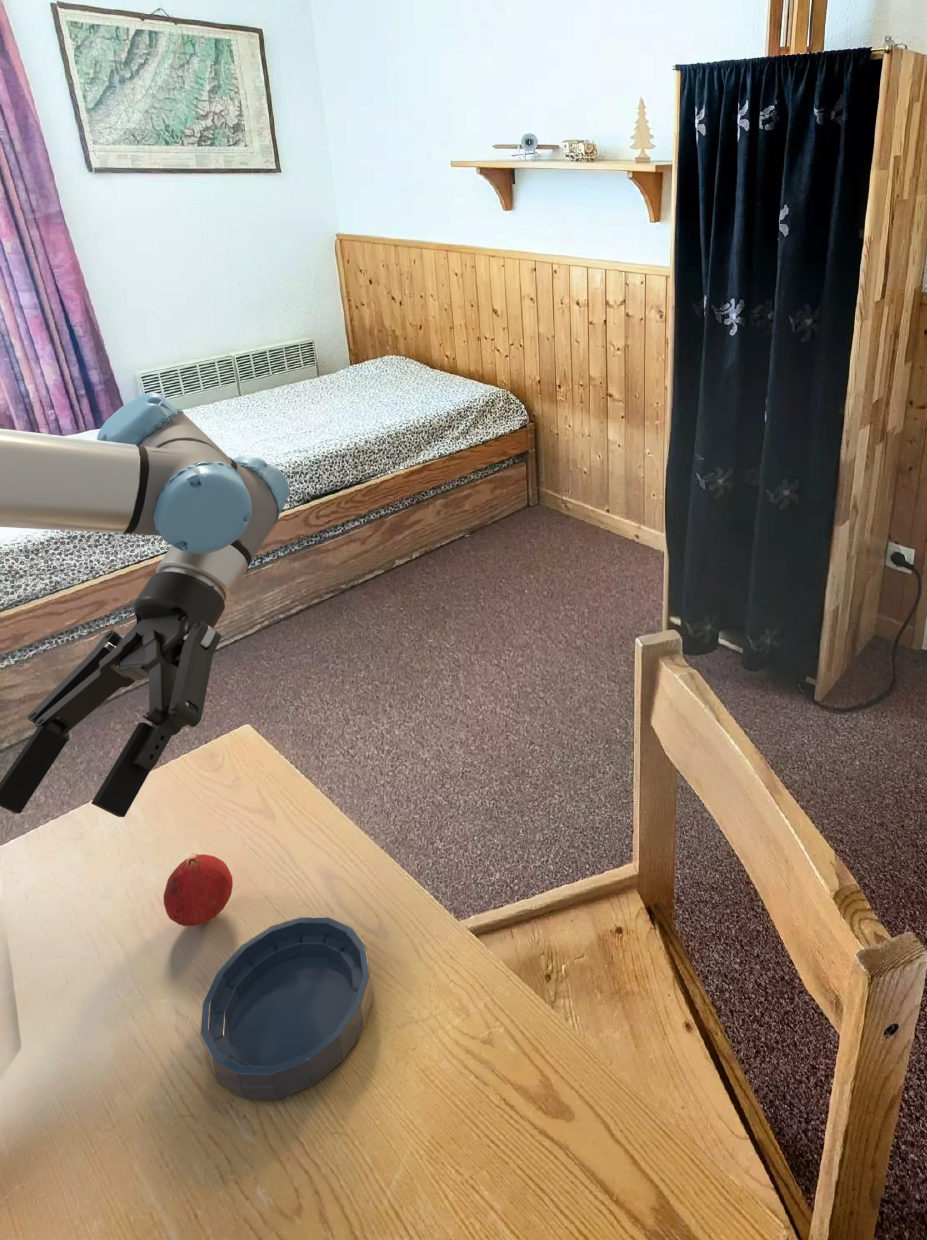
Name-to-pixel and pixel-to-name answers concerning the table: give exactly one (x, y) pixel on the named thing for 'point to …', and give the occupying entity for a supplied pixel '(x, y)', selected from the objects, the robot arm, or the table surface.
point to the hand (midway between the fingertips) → (53, 809)
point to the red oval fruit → (197, 890)
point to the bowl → (286, 1007)
